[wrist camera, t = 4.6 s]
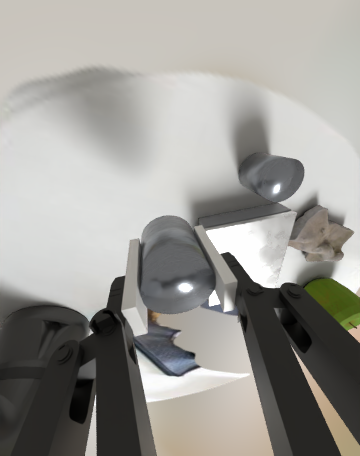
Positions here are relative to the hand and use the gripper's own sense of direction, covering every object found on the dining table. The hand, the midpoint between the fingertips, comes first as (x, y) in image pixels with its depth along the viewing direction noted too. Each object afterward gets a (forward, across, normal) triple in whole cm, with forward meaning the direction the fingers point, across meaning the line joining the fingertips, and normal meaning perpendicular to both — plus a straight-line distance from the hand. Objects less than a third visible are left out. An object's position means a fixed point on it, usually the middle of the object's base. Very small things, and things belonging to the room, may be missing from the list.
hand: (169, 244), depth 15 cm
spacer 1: (+1, 0, 0) cm, 1 cm away
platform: (+7, +13, -13) cm, 19 cm away
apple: (+10, +36, -32) cm, 49 cm away
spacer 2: (+10, +15, +2) cm, 18 cm away
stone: (+11, +29, -13) cm, 33 cm away
